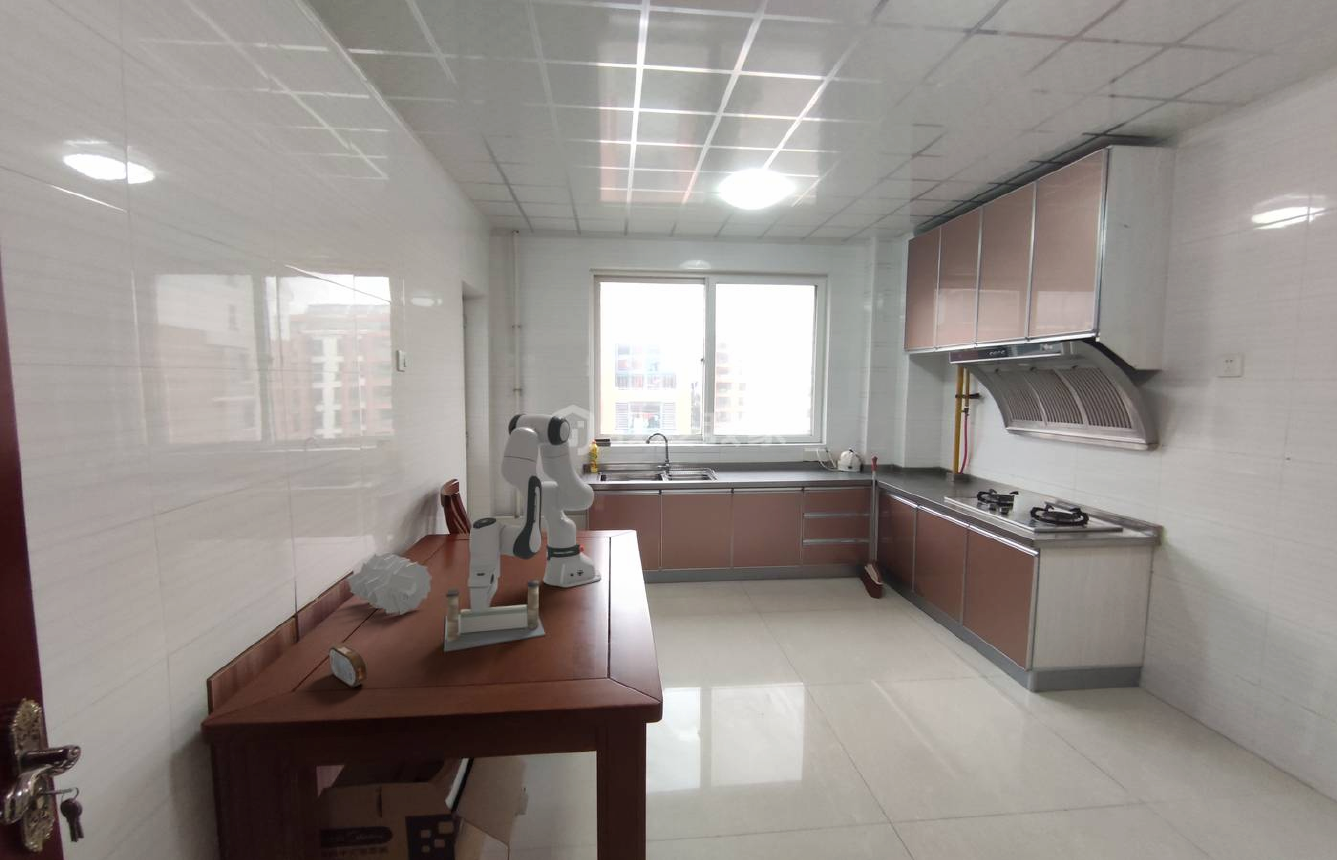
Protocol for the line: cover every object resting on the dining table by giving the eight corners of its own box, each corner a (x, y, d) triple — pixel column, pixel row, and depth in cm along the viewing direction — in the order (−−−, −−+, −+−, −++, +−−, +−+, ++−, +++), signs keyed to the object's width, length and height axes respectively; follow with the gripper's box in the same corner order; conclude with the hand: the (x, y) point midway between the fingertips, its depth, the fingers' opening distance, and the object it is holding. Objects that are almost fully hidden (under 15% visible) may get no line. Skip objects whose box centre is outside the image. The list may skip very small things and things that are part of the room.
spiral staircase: (385, 606, 184) (425, 620, 170) (336, 599, 170) (375, 613, 157) (405, 555, 190) (445, 564, 176) (359, 545, 177) (398, 554, 163)
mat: (534, 605, 176) (534, 604, 176) (545, 635, 154) (545, 633, 154) (445, 617, 166) (445, 616, 166) (444, 651, 144) (444, 650, 143)
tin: (368, 687, 126) (367, 654, 125) (354, 693, 123) (353, 659, 122) (340, 669, 134) (339, 637, 134) (326, 674, 131) (326, 642, 131)
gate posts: (538, 625, 161) (538, 579, 160) (539, 630, 158) (539, 583, 157) (446, 639, 151) (446, 590, 150) (446, 644, 148) (445, 594, 147)
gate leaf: (526, 624, 159) (526, 604, 159) (526, 627, 157) (526, 606, 157) (461, 630, 155) (461, 609, 154) (460, 633, 153) (460, 612, 153)
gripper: (482, 561, 167) (482, 602, 168) (465, 583, 147) (466, 630, 148) (502, 560, 168) (502, 601, 169) (488, 583, 148) (489, 629, 149)
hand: (485, 615), depth 158 cm, fingers closed
